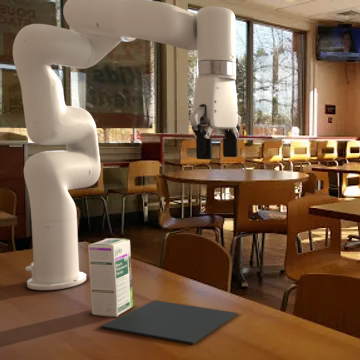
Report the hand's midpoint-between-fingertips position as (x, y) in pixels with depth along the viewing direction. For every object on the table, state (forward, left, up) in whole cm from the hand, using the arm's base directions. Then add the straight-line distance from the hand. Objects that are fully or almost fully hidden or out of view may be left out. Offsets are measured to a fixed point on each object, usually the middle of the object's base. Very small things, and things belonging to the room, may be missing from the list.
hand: (217, 158), depth 100 cm
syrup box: (-19, -10, -31) cm, 38 cm away
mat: (-4, -10, -31) cm, 33 cm away
